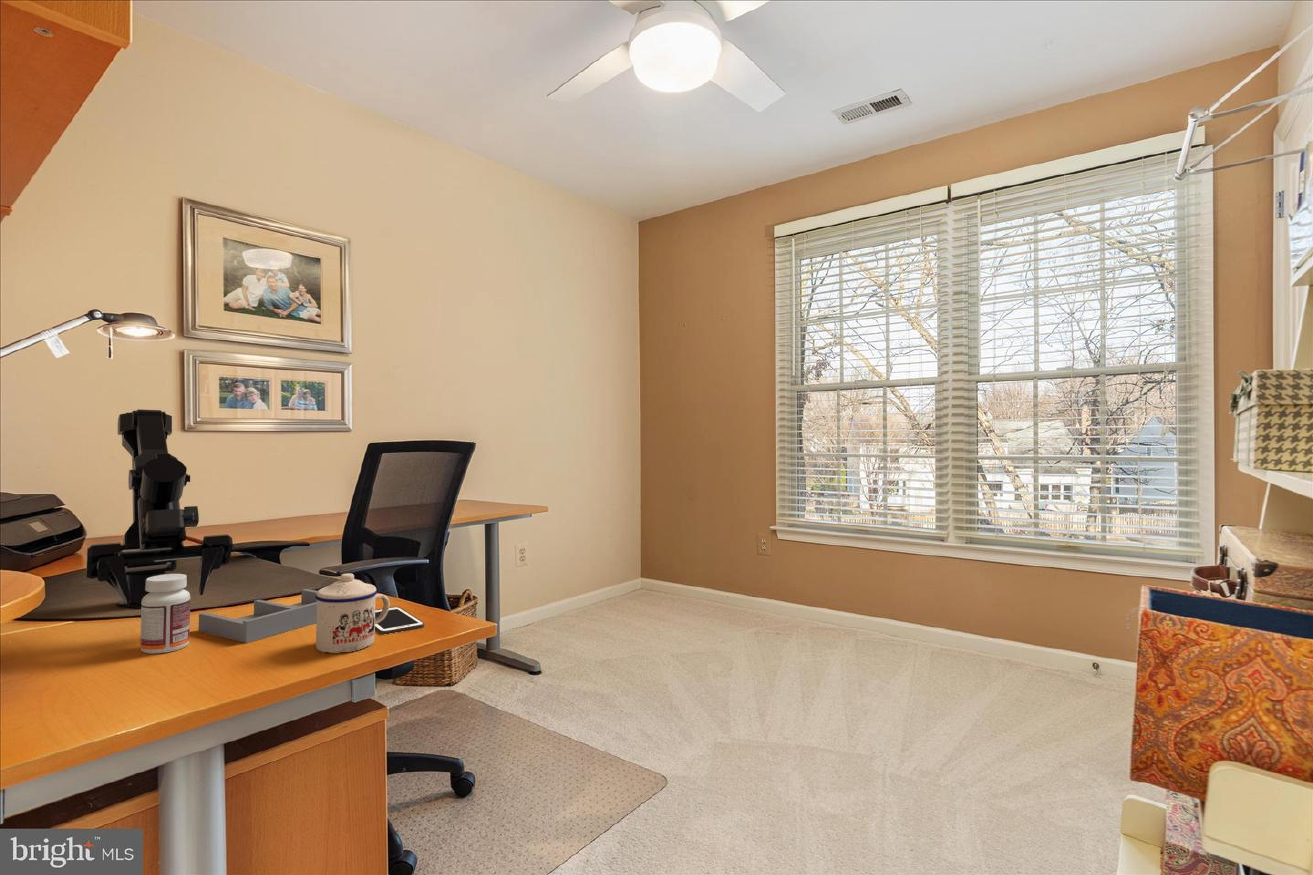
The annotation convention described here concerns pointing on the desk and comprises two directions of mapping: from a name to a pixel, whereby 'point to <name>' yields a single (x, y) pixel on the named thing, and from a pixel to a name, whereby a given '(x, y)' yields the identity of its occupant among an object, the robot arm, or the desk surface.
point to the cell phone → (397, 621)
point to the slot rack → (263, 619)
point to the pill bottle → (165, 614)
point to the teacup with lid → (347, 615)
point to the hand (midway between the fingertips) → (166, 598)
